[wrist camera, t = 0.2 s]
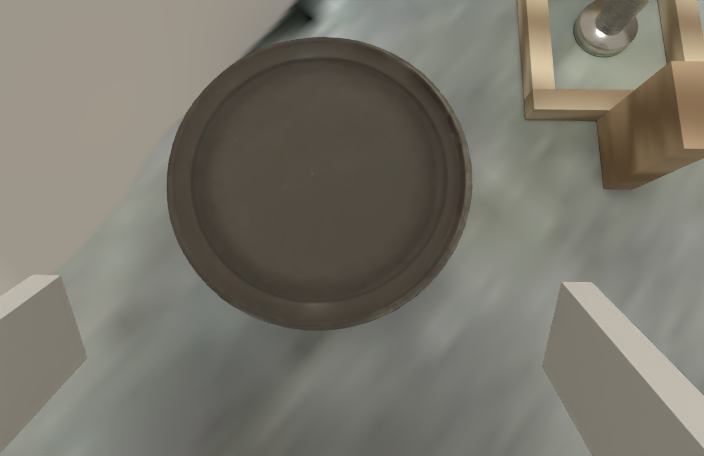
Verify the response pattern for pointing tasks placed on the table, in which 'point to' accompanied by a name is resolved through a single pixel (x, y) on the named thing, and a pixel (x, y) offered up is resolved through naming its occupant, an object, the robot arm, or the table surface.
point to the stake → (608, 26)
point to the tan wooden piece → (627, 98)
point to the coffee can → (319, 183)
